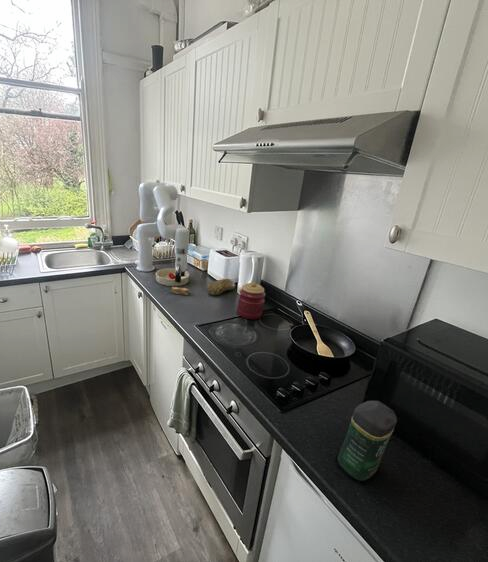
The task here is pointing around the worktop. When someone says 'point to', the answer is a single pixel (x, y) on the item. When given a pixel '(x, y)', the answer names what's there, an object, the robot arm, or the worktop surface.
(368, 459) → the coffee jar
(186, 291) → the stick
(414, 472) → the worktop surface
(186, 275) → the bowl
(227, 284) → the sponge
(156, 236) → the robot arm
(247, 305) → the kitchen canister
